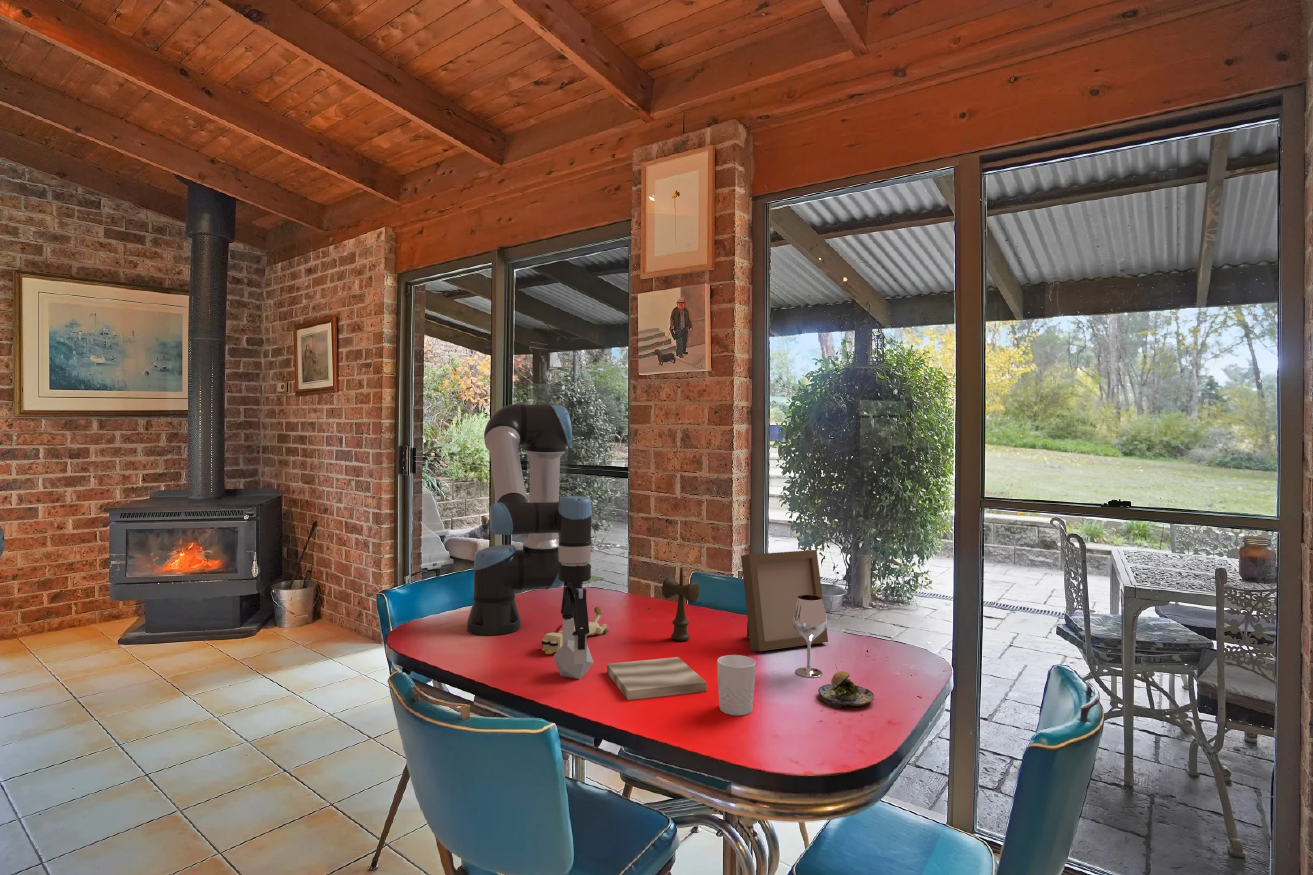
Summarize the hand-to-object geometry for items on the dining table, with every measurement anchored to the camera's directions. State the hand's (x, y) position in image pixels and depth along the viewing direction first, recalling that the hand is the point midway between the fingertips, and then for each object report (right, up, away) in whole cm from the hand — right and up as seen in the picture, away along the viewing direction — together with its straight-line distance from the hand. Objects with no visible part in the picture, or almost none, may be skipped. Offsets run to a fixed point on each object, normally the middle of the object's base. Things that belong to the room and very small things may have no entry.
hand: (574, 654), depth 161 cm
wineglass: (+55, -6, +4) cm, 56 cm away
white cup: (+36, -6, -18) cm, 40 cm away
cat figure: (-3, -5, +25) cm, 26 cm away
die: (0, -5, 0) cm, 5 cm away
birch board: (+19, -5, -3) cm, 20 cm away
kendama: (+26, -5, +30) cm, 40 cm away
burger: (+60, -6, -12) cm, 61 cm away
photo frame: (+53, -6, +29) cm, 60 cm away
